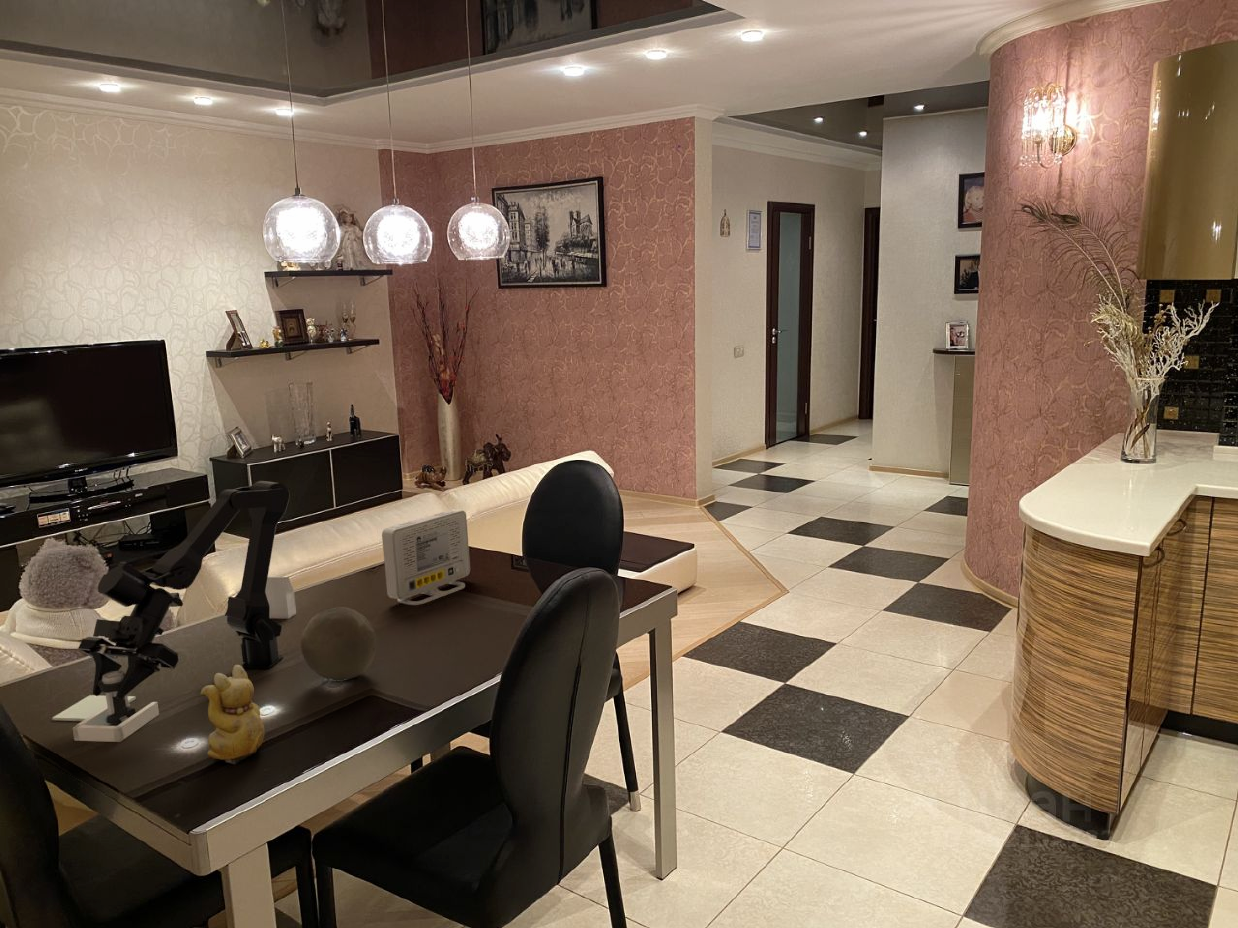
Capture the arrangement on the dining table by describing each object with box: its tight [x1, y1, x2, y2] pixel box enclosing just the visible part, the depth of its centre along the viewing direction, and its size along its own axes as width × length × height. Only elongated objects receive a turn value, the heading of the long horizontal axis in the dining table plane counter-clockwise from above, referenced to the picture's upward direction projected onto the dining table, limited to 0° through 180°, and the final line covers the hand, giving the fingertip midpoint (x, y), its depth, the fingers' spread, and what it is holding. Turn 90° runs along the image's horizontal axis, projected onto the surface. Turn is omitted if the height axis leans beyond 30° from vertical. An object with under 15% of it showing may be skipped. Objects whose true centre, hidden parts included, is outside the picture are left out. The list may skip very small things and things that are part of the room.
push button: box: [98, 670, 137, 726], centre depth 168 cm, size 7×5×10 cm
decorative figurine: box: [200, 664, 266, 765], centre depth 155 cm, size 10×8×15 cm
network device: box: [381, 508, 471, 606], centre depth 239 cm, size 26×9×20 cm, turn 144°
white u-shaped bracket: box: [72, 701, 160, 743], centre depth 169 cm, size 9×11×2 cm
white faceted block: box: [266, 576, 297, 619], centre depth 227 cm, size 4×7×10 cm, turn 81°
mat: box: [52, 694, 137, 722], centre depth 177 cm, size 10×10×1 cm
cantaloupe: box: [300, 606, 377, 682], centre depth 185 cm, size 14×14×15 cm
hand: (106, 696), depth 167 cm, fingers closed on push button, 5 cm apart
